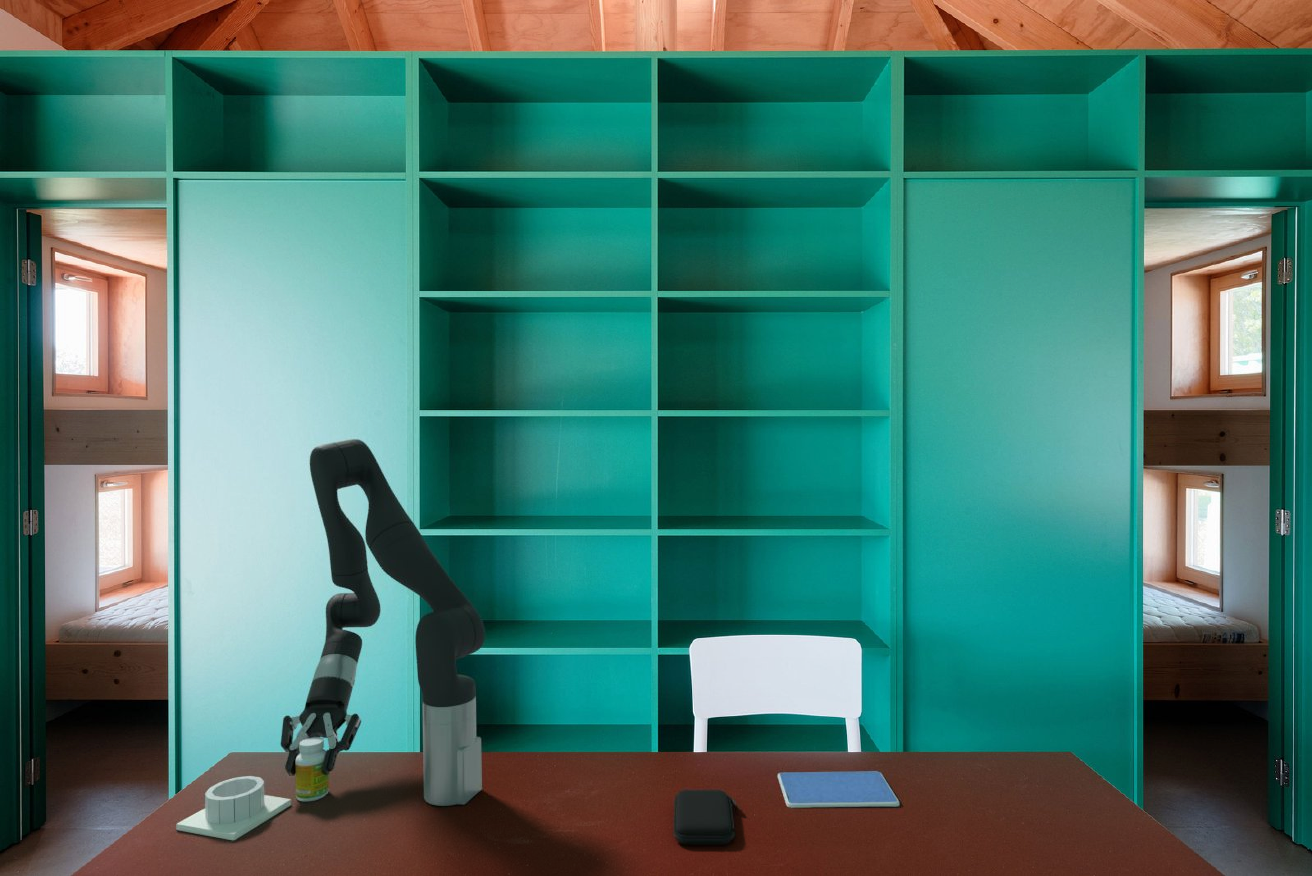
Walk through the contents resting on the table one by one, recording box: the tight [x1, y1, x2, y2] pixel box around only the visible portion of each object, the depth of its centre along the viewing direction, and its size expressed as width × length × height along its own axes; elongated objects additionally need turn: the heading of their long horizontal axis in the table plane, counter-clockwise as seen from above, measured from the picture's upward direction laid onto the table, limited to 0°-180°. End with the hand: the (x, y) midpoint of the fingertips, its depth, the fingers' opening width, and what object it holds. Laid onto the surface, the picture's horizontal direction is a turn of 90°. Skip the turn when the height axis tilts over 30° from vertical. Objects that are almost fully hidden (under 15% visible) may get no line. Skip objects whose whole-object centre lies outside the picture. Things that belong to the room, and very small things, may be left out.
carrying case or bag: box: [673, 789, 739, 846], centre depth 123 cm, size 11×3×15 cm
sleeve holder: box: [175, 775, 292, 842], centre depth 127 cm, size 12×12×5 cm
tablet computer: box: [777, 770, 900, 809], centre depth 134 cm, size 19×13×1 cm, turn 89°
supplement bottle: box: [295, 737, 330, 802], centre depth 135 cm, size 5×5×10 cm
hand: (308, 773), depth 133 cm, fingers closed on supplement bottle, 5 cm apart
